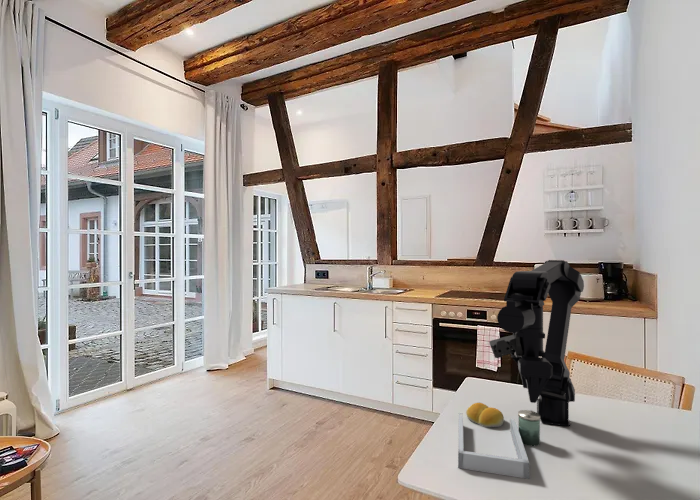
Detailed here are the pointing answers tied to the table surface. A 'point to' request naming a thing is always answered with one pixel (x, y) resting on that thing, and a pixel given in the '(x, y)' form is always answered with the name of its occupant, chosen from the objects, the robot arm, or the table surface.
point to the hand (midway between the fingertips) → (529, 394)
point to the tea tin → (529, 427)
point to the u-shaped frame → (495, 462)
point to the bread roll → (485, 415)
